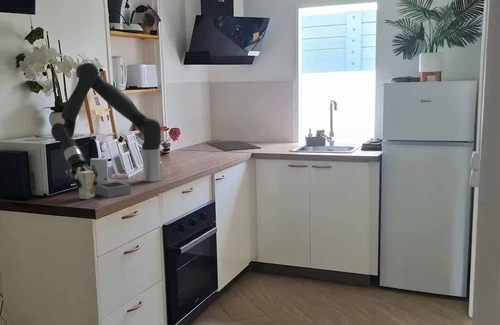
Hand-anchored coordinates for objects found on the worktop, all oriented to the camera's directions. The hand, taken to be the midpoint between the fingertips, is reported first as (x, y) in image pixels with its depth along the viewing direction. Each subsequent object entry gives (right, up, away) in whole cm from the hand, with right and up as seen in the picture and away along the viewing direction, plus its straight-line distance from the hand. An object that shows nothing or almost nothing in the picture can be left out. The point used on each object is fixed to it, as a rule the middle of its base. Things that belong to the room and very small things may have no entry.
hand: (88, 185), depth 229 cm
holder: (+9, -4, +10) cm, 14 cm away
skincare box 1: (-1, -6, +2) cm, 6 cm away
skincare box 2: (-2, -2, +26) cm, 26 cm away
